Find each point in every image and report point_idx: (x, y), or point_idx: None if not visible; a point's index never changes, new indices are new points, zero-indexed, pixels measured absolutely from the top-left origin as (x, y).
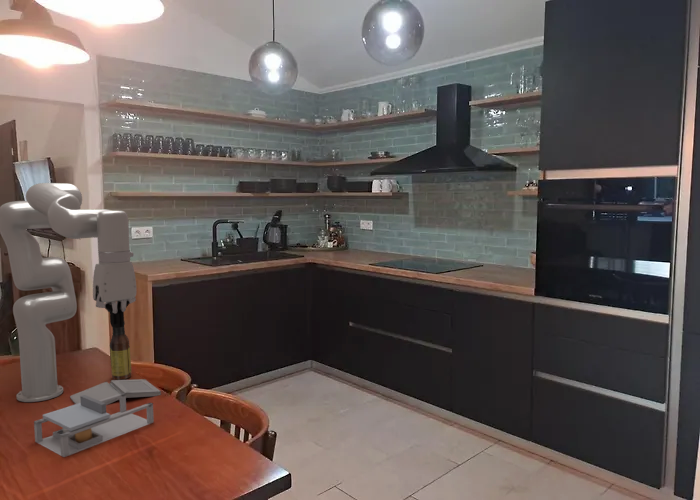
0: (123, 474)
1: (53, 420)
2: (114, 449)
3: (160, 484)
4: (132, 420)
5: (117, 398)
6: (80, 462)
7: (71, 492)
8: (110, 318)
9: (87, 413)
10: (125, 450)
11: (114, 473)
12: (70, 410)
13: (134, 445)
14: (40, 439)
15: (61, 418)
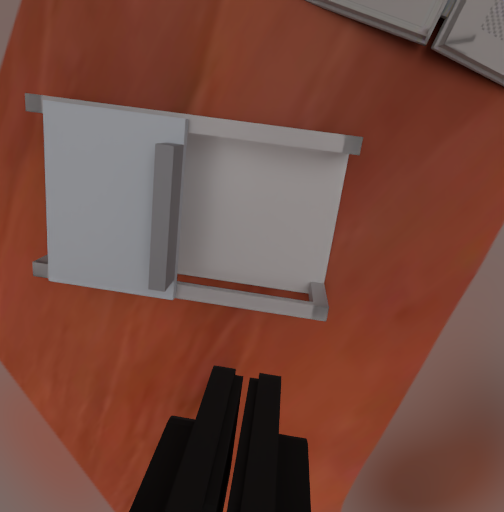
0: (113, 409)
1: (46, 179)
2: (170, 311)
3: (129, 486)
4: (302, 231)
5: (410, 35)
6: (89, 294)
7: (19, 377)
8: (151, 468)
9: (136, 232)
10: (180, 337)
11: (105, 392)
12: (118, 155)
13: (209, 336)
14: None
15: (66, 191)
